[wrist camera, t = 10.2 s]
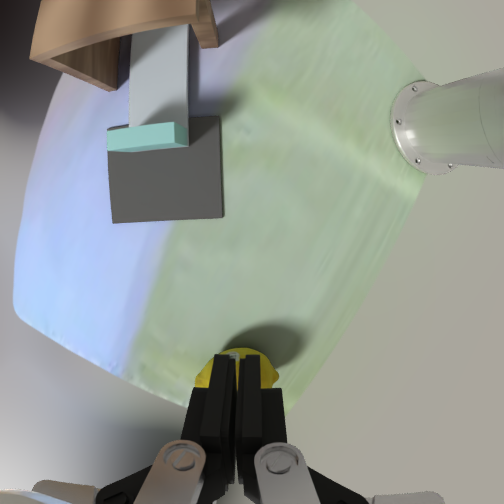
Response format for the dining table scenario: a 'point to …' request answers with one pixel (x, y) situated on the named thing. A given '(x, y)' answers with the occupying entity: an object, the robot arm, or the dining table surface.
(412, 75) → the dining table surface
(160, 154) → the mat
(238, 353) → the lemon
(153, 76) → the sled
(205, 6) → the tunnel
